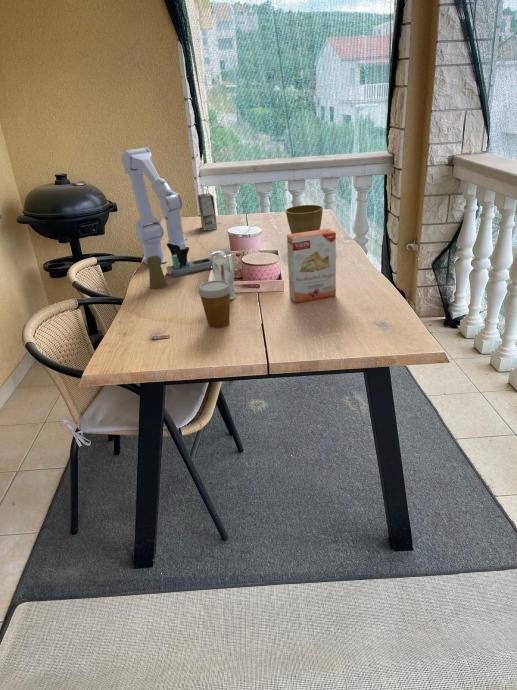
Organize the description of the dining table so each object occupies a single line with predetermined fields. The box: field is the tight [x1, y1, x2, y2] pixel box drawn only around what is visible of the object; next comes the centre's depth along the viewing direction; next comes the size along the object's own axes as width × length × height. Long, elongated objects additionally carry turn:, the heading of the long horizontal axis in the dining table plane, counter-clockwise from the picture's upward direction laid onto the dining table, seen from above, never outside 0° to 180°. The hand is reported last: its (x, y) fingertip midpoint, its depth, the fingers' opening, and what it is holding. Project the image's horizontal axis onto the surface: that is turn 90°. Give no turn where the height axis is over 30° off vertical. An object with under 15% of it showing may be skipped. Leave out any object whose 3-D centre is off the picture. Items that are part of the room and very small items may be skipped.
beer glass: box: [211, 250, 237, 301], centre depth 168 cm, size 7×7×15 cm
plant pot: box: [285, 204, 324, 234], centre depth 212 cm, size 15×15×16 cm
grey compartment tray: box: [166, 257, 212, 278], centre depth 200 cm, size 6×18×2 cm, turn 116°
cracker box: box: [286, 228, 337, 304], centre depth 161 cm, size 14×6×21 cm, turn 105°
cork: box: [146, 256, 167, 290], centre depth 185 cm, size 6×6×11 cm
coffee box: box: [197, 192, 218, 231], centre depth 254 cm, size 9×6×16 cm
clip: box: [170, 254, 189, 269], centre depth 197 cm, size 2×5×7 cm, turn 116°
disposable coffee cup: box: [197, 279, 231, 329], centre depth 151 cm, size 10×10×12 cm
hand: (180, 263), depth 197 cm, fingers open, 7 cm apart
